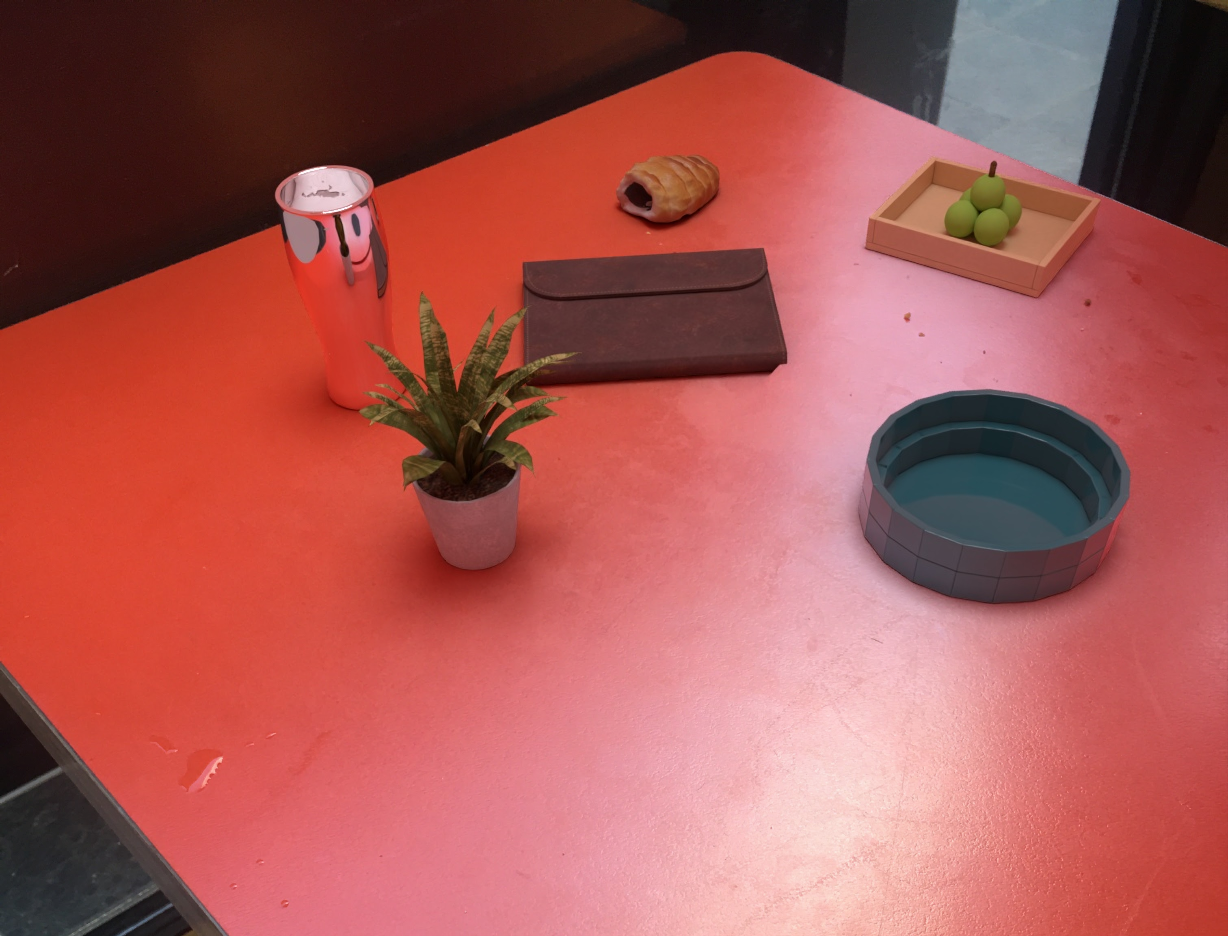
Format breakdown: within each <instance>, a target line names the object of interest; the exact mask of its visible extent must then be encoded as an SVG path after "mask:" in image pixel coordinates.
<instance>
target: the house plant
mask: <svg viewBox="0 0 1228 936" xmlns="http://www.w3.org/2000/svg"><path fill="white" fill-rule="evenodd" d="M423 291H424V289H422V290H421V292H420V295H419V302H418V303H419V305H418V317H419V332H420V337H421V346H422V353H423V355H422V356H423V367H424V377H425V379H424V378H423V377H422V376H420V375H419V374H416V373H414V372H412V371H411V370H410V369H409V368H408V367H407V366H406V365H405V364H404V363H403V362H402V361H401V359H400V360H398V359H397V358H396V357H395V356H394V355H392V354H391V353H390V352H388V351H387V350H385V349H383V348H382V347H380V346H377V345H374V344H372V343H370V342H367V341H365V342H366V343H367V345H368V346H369V347H370V349H371V350H372V351H373V352H375V353H376V354H377V355H379V356H380V357H381V358H382V360H383V362H384V363H385V365H386V366H387V368H388V369H389V370H390V372H387V373H391V372H392V373H393V374H394V375H395V376H396V377H397V378H398V379H399V380H400V381H401V383H402V384H403V385H404V386H405V388H406V389H405V390H406V391H408V393H409V395H410V397H411V399H412V400H413V401H412V400H411V399H410V398H409V397H407V396H405V394H401V393H399V392H397V391H396V390H395V389H393V388H392V387H390V386H389V385H387V384H375V385H377V386H380V387H384V388H388V389H390V390H391V391H393V392H395V393H396V394H397V395H399V396H400V397H399V398H402V399H403V400H405V401H406V402H407V403H408V404H409V405H410V406H411V407H412V408H409V407H408V408H407V407H405V406H404V405H402V404H401V403H399V402H398V401H397V400H393V399H390V398H388V397H386V396H384V395H382V394H380V393H377V392H363V393H364V394H366V395H368V396H370V397H372V398H376V399H380V400H381V401H383V402H384V403H386V404H387V405H385V404H374V405H369V406H367V407H365V408H363V409H361V410H358V412H357V413H358V414H360V415H361V416H362V417H363V418H365V419H367V420H369V421H370V423H369V425H368V426H367V428H368V427H370V426H373V424H375V423H377V424H380V425H385V426H389V427H391V428H395V429H398V430H401V431H403V432H405V433H407V434H408V435H410V436H412V438H414V439H416V440H417V441H418V442H419V443H421V444H422V445H423V446H424V447H423V448H422V449H421V450H420V451H419V452H418V453H417V454H413V455H410V456H407V457H405V458H404V459H402V462H401V468H402V476H403V483H402V487H403V492H405V491H406V488H407V487H408V486H409V485H412V487H413V490H414V493H415V494H416V497H417V499H418V501H419V504H420V507H421V509H422V511H423V514H424V517H425V518H426V522H427V524H428V527H429V529H430V531H431V534H432V537H433V539H434V541H435V544H436V546H437V548H438V551H439V553H440V556H441V557H442V559H443V560H444V561H445V560H446V561H445V562H447V563H448V564H450V565H451V566H453V567H455V568H458V569H463V570H469V571H474V570H475V571H476V570H484V569H485V570H486V569H488V568H492V567H495V566H496V565H497V566H498V565H499V564H501V563H502V562H504V561H505V560H507V559H508V558H509V557H510V556H511V554H512V553H513V552H514V550H515V547H516V542H517V541H516V540H517V529H518V528H517V527H518V516H519V515H518V514H519V499H520V488H521V486H520V485H521V474H522V473H521V472H522V466H524V467H525V468H527V469H528V470H529V471H531V472H532V474H533V476H534V478H537V477H536V474H535V470H534V463H533V457H532V455H531V453H530V452H529V450H528V449H527V448H526V447H525V446H524V445H522V444H520V443H519V442H517V441H513V440H508V439H507V438H508V437H509V436H510V435H511V434H512V433H514V432H516V431H519V430H521V429H524V428H526V427H529V426H531V425H533V424H536V423H539V422H540V421H544V420H545V419H547V418H550V417H559V418H562V416H561V415H559V414H558V412H555V411H554V410H552V409H550V408H549V407H547V406H545V405H547V404H549V403H553V402H554V403H555V402H559V401H562V400H565V399H569V398H570V397H568V396H552V395H551V394H550V393H548V392H546V391H545V390H543V389H542V388H539V387H537V386H534V385H526V383H527V382H529V381H530V380H532V379H533V378H535V377H537V376H539V375H544V374H550V373H553V372H556V371H557V370H537V369H538V368H540V367H543V366H548V365H555V364H562V363H567V362H572V361H576V360H570V361H559V362H554V361H557V360H561V359H564V358H567V357H570V356H572V355H574V354H577V353H581V352H572V353H562V354H555V355H551V356H547V357H544V358H540V359H538V360H536V361H533V362H531V363H529V364H527V365H525V366H524V365H523V366H519V367H517V368H514V369H511V370H509V371H507V372H504V373H502V374H500V375H498V376H497V374H498V373H499V371H500V369H501V368H502V367H501V366H502V365H503V363H504V361H505V359H506V357H507V356H508V354H509V352H510V351H509V350H510V346H511V342H512V337H513V334H514V331H515V330H516V328H517V327H518V325H519V323H520V322H521V321H522V319H524V313H525V311H526V309H527V308H528V307H530V306H528V307H525V308H521V309H519V310H518V311H517V312H515V313H514V314H512V315H511V316H510V317H508V318H507V319H506V320H505V322H503V323H502V325H501V326H500V327H499V328H498V329H497V331H496V332H495V334H494V335H493V337H492V339H491V341H490V342H489V339H490V336H491V333H492V329H493V326H494V324H495V323H494V322H495V311H496V308H497V306H495V307H494V308H493V309H492V310H491V312H490V313H489V314H488V317H487V319H486V320H485V322H484V323H483V325H482V327H481V330H480V331H479V334H478V336H477V338H476V340H475V342H474V344H473V346H472V348H471V349H470V352H469V354H468V355H467V358H466V357H464V358H463V359H462V360H461V361H460V362H459V363H458V364H457V365H456V366H455V367H454V368H453V364H452V360H451V356H450V349H449V343H448V342H449V341H448V337H447V333H446V332H445V329H444V328H443V326H442V325H441V323H440V321H439V320H438V319H437V317H436V315H435V312H434V309H433V306H432V303H431V300H430V299H429V298H428V297H427V296H426V295H425V294H424V292H423ZM531 306H532V305H531ZM362 341H363V340H362ZM488 342H489V344H488ZM465 359H466V360H465ZM463 361H465V363H464V366H463V368H462V371H461V375H460V378H459V382H458V387H457V384H456V379H455V372H456V370H457V369H459V367H460V366H461V365H462V363H463ZM535 370H537V371H535ZM417 378H419V379H420V380H421V381H422V382H423V384H424V385H425V386H426V388H427V389H426V391H425V390H424V388H423V386H422V385H421V383H420V382H419V380H418V379H417ZM539 397H543V398H540V399H538V400H535V401H534V402H532V403H530V404H529V405H526V406H524V407H522V408H520V409H518V408H517V407H516V406H515V404H516V403H518V402H521V401H525V400H529V399H533V398H539ZM507 409H511V410H513V411H515V412H513V413H512V414H511V415H509V416H508V417H506V418H505V419H504V420H503V421H502V422H501V423H500V424H498V425H497V426H496V427H495V429H494V430H493V432H491V431H490V430H491V429H492V427H493V425H494V423H495V422H496V420H497V419H499V417H501V415H502V414H503V413H504V412H505V411H506V410H507ZM490 432H491V434H489V433H490Z"/></svg>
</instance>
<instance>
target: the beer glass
mask: <svg viewBox="0 0 1228 936" xmlns="http://www.w3.org/2000/svg"><path fill="white" fill-rule="evenodd" d="M279 183H280V184H279V185H278V186H277V187H276V190H275V191H274V198H275V201H276V205H277V212H278V217H279V223H280V229H281V235H282V240H283V245H284V250H285V254H286V259H287V261H288V265H289V268H290V272H291V277H292V278H293V281H294V283H295V287H296V289H297V291H298V294H299V296H300V299H301V301H302V304H303V305H304V308H305V310H306V312H307V315H308V317H309V320H310V321H311V323H312V325H313V327H314V330H315V333H316V335H317V337H318V339H319V342H320V345H321V350H322V353H323V356H324V364H325V381H326V390H327V394H328V397H329V398H330V400H332V402H334V403H335V404H336V405H338V406H340V407H341V408H345V409H349V410H354V411H355V410H356V411H360V410H361V409H363V408H365V407H367V406H369V405H374V404H385V405H387V404H386V403H384V402H383V401H381V400H380V399H376V398H372V397H370V396H368V395H366V394H364V393H363V392H377V393H380V394H382V395H384V396H386V397H388V398H390V399H393V400H395V401H397V400H398V399H399V398H401V397H400V396H399V395H397V394H396V393H395V392H393V391H391V390H390V389H388V388H384V387H380V386H377V385H375V384H387V385H389V386H390V387H392V388H393V389H395V390H396V391H397V392H399V393H401V394H403V393H404V392H405V391H406V390H407V389H406V388H405V386H404V385H403V384H402V383H401V381H400V380H399V379H398V378H397V377H396V376H395V375H394V374H393V373H392V372H391V373H387V372H390V370H389V369H388V368H387V366H386V365H385V363H384V362H383V360H382V358H381V357H380V356H379V355H377V354H376V353H375V352H373V351H372V350H371V349H370V347H369V346H368V345H367V343H366V342H365V341H367V342H370V343H372V344H374V345H377V346H380V347H382V348H383V349H385V350H387V351H388V352H390V353H391V354H392V355H394V356H395V357H396V358H397V359H398V360H400V361H401V359H400V356H399V353H398V350H397V347H396V342H395V338H394V337H395V336H394V331H393V330H394V329H393V281H392V280H393V279H392V263H391V256H390V248H389V243H388V237H387V234H386V229H385V223H384V219H383V217H382V213H381V212H382V211H381V208H380V205H379V202H378V198H377V194H376V191H375V185H374V181H373V178H372V177H371V176H370V175H369V174H368V173H366V172H365V171H364V170H362V169H359V168H357V167H352V166H347V165H335V164H333V165H321V166H314V167H311V168H310V167H309V168H306V169H303V170H300V171H298V172H295V173H293V174H291V175H289V176H288V177H286V178H285V179H284V180H282V181H281V182H279ZM362 340H363V341H362ZM403 395H404V394H403Z"/></svg>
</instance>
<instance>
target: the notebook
mask: <svg viewBox="0 0 1228 936" xmlns="http://www.w3.org/2000/svg"><path fill="white" fill-rule="evenodd" d="M768 265H769V263H768V259H767V255H766V252H765V248H764V247H754V248H752V247H751V248H737V249H720V250H719V249H717V250H704V251H686V252H685V251H684V252H669V253H667V252H666V253H653V254H650V253H649V254H636V255H618V256H616V255H615V256H602V257H586V258H585V257H584V258H583V257H582V258H568V259H567V258H565V259H550V260H534V261H523V262H522V288H523V289H522V294H523V295H522V296H523V298H522V300H523V301H522V302H523V303H522V304H523V308H525V307H528V306H530V307H528V308H527V309H526V311H525V313H524V316H523V366H525V365H527V364H529V363H531V362H533V361H536V360H538V359H540V358H544V357H547V356H551V355H555V354H562V353H572V352H581V353H577V354H574V355H572V356H570V357H567V358H564V359H561V360H557V361H554V362H559V361H570V360H576V361H572V362H567V363H562V364H555V365H548V366H543V367H540V368H538V369H537V370H557V371H556V372H553V373H550V374H544V375H539V376H537V377H535V378H533V379H532V380H530V381H529V382H527V383H526V384H525V386H536V385H553V384H555V385H556V384H571V383H586V382H604V381H619V380H636V379H652V378H669V377H670V378H672V377H685V376H687V377H688V376H705V375H720V374H722V375H723V374H739V373H755V372H770V371H771V372H772V371H776V370H777V369H778V368H779V366H781V365H787V363H788V349H787V348H788V347H787V345H786V340H785V336H784V331H783V328H782V324H781V319H780V315H779V310H778V306H777V302H776V298H775V294H774V290H773V289H774V288H773V285H772V281H771V277H770V272H769V268H768V267H769V266H768ZM531 305H532V306H531ZM523 308H522V309H523ZM537 370H535V371H537Z"/></svg>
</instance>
